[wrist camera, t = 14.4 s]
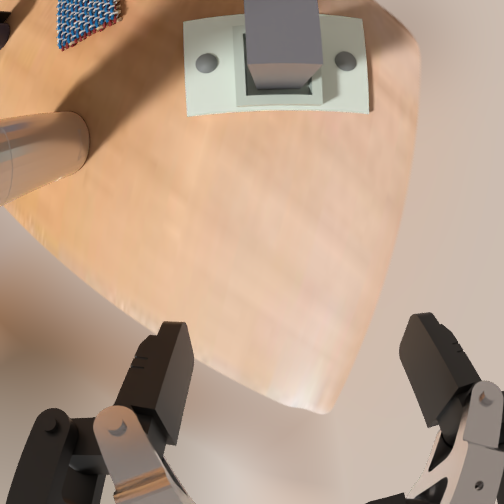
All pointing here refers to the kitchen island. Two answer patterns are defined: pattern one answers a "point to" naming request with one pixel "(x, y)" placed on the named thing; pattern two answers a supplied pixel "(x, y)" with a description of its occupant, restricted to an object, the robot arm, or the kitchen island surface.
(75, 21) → the woven mat
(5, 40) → the speaker
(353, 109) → the bracket
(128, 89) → the kitchen island surface
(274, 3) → the tall grey pillar
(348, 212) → the kitchen island surface
